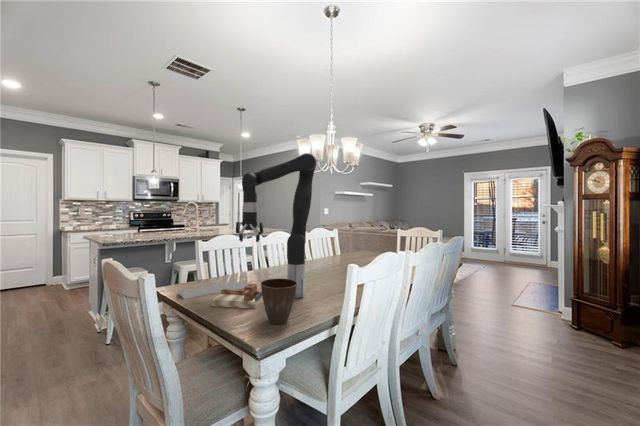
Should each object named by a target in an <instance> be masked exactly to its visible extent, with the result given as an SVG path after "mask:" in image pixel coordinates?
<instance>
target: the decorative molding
mask: <svg viewBox="0 0 640 426" xmlns="http://www.w3.org/2000/svg"><path fill="white" fill-rule="evenodd" d="M248 284H249V283H248V280H240V281H233V282H226V283H222V284H221V283H220V284H215V285H207V286H202V287H194V288H189V289H188V288H187V289H182V290H178V295H179V297H181V298H182V299H183V300H189V299H196V298H200V297H206V296H213V295H217V294H219V295H220V294H221V289H233V290H244V287H245V286H247V285H248Z"/></svg>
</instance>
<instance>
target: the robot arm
mask: <svg viewBox="0 0 640 426" xmlns="http://www.w3.org/2000/svg"><path fill="white" fill-rule="evenodd" d="M316 166H317V159H316V157H315V156H314V155H313V154H311V153H308V152H306V153H303V154H301V155H299V156H297V157H295V158H293V159H290V160H288V161H285V162H281V163H278V164H275V165H272V166H269V167H266V168H262V169H260V171H257V172H254V173H251V172H246V173H245V174H243V176H242V179H241V187H242V199H243V200H242V209H241V210H242V220H241V221H236V223H235V233H236V234H238V235H239V236H238V237H239V238H238V239H239V241H240V242H241V243H242V242H243V241H244V234H243V233H244V232H246V231H253V232H254V233H255V242H256V243H259V242H260V239H261V236H260V235H262V234H264V223H263V222H258V205H257V204H258V200H257V199H258V197H257V196H258V194H257V191H256V186H259V185H263V184H264V183H267V182H272V181H275V180H278V179H280V178H282V177H284V176H287V175H290V174H292V173H296V172H299V174H298V182H297V184H296V188H295V192H294V197H293V204H292V227H291V232H290V235H289V236H288V238H287V241H286V260H287V261H286V262H287V267H286V268H287V270H286V271H287V272H286V273H287V274H286V275H287V276H286V279H290V280H294V281H296V282H297V287H296V293H295V298H294V299H298V298H304V297H305V294H306V275H305V271H306V269H305V268H306V267H305V266H306V258H305V253H306V252H305V251H306V240H307V239H306V235H307V230H306V229H307V223H308V219H309V215H310V210H311V206H312V205H311V203H312V196H313V195H312V194H313V179H314V174H315V169H316V168H317V167H316ZM241 226H242V228H241ZM257 227H259V229H258V228H257ZM240 228H241V229H240Z"/></svg>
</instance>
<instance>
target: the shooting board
mask: <svg viewBox="0 0 640 426" xmlns="http://www.w3.org/2000/svg"><path fill="white" fill-rule="evenodd" d="M243 293H244V289H242V290H233V289H221V293H219V295H217V296H215V297H214V298H213V299H211V300H212V302H211V305H212V307H222V308H240V309H241V308H242V309H257V308H258V307H259V306H260V305H261V304H262V302H263V297H262V290H257V295H256V296H255V298H254V299H253V300H244V295H243Z"/></svg>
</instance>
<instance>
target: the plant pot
mask: <svg viewBox="0 0 640 426" xmlns="http://www.w3.org/2000/svg"><path fill="white" fill-rule="evenodd" d="M296 287H297V282H296V281H294V280H290V279H287V278H269V279H265V280H263V281H261V282H260V289H261V290H260V291H262V297H263V301H262V302H263V307H264V310H265V314H266V317H267V319H268V322H269V323H270V324H273V325H283V324H286V323H287V322H288V319H289V317H290V314H291V311H292V307H293V305H294V301H295V299H296V298H295V293H296Z"/></svg>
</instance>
